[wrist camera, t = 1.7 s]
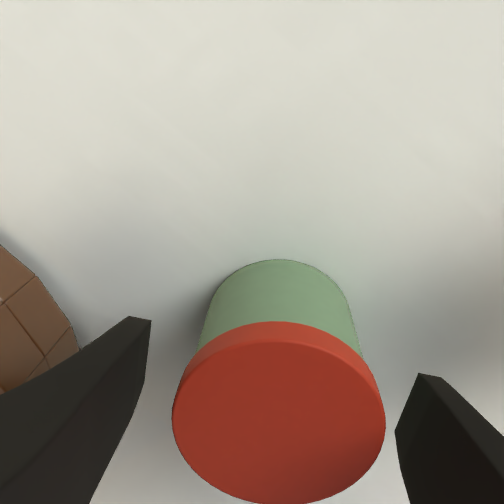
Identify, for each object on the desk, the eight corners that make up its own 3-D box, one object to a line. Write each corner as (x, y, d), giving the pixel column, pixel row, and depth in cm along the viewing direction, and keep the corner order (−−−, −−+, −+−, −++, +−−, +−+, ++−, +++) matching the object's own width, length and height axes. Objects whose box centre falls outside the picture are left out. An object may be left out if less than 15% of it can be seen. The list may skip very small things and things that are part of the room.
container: (333, 398, 16) (352, 523, 11) (193, 370, 15) (159, 485, 11) (375, 271, 14) (416, 364, 9) (216, 240, 14) (185, 319, 9)
